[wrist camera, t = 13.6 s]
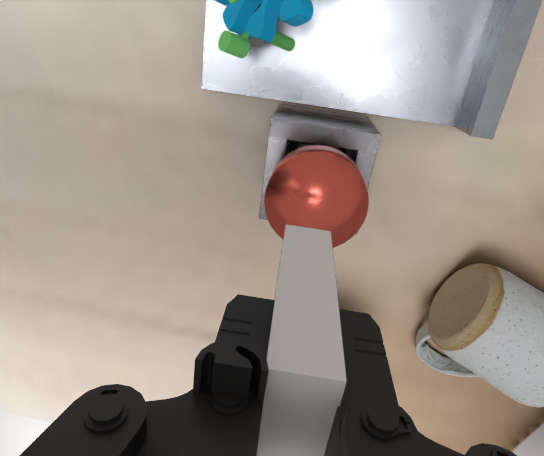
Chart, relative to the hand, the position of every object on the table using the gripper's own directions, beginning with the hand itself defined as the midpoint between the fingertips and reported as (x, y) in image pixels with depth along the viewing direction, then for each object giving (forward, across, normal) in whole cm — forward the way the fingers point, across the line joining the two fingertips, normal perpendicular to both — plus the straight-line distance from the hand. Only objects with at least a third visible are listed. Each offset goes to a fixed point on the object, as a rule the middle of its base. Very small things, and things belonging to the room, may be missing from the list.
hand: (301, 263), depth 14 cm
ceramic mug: (+16, -16, +11) cm, 25 cm away
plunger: (+15, -1, 0) cm, 15 cm away
